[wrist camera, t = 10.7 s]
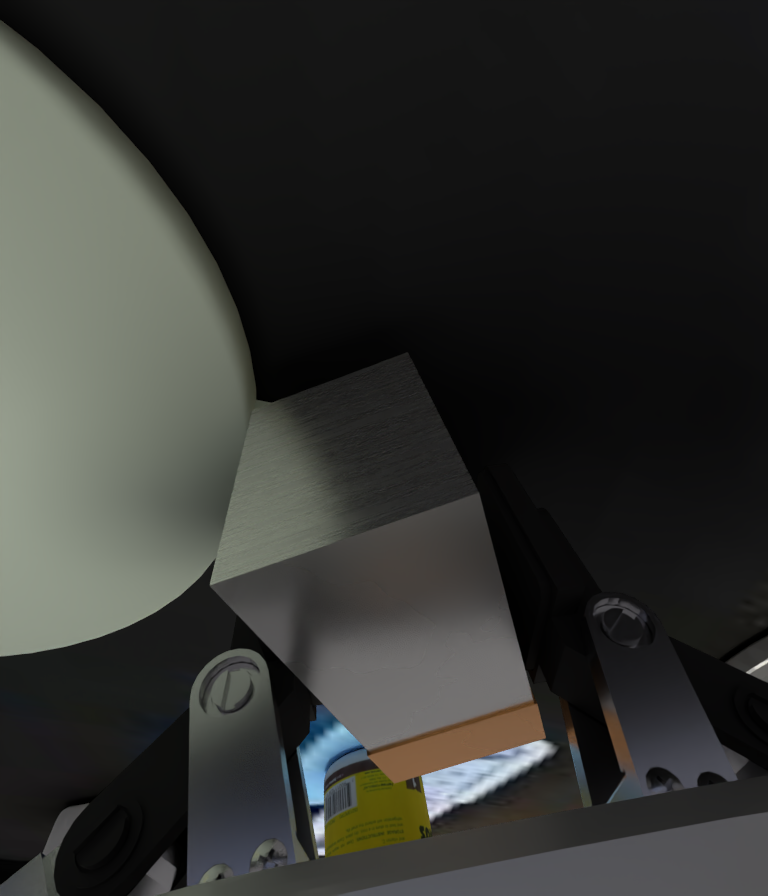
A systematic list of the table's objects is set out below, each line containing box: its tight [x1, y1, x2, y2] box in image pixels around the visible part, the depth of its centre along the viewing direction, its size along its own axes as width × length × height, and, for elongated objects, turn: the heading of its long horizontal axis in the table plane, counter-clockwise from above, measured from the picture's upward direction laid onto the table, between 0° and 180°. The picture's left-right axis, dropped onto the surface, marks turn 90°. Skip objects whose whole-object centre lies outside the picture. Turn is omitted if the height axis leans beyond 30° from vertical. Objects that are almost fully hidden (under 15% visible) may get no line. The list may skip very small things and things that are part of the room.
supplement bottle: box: [324, 748, 432, 858], centre depth 20 cm, size 6×6×10 cm
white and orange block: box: [210, 352, 546, 783], centre depth 9 cm, size 8×4×6 cm, turn 18°
